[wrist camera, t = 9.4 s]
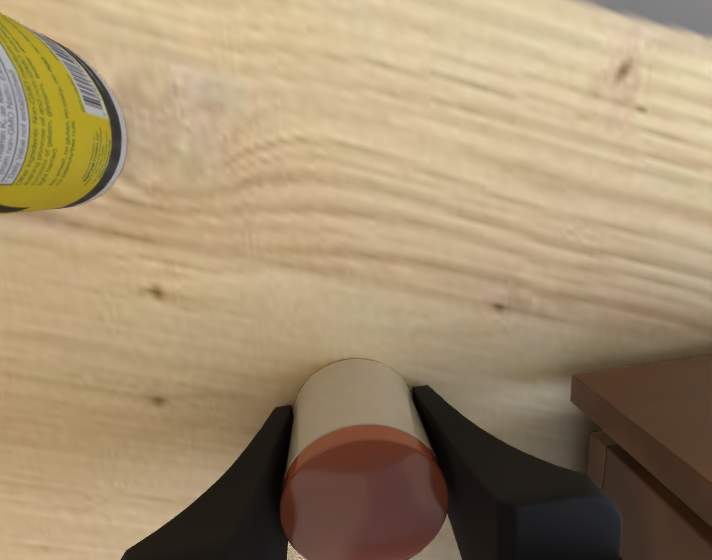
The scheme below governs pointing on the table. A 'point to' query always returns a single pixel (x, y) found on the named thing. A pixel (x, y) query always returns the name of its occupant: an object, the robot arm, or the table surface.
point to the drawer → (654, 453)
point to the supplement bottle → (53, 125)
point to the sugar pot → (360, 468)
